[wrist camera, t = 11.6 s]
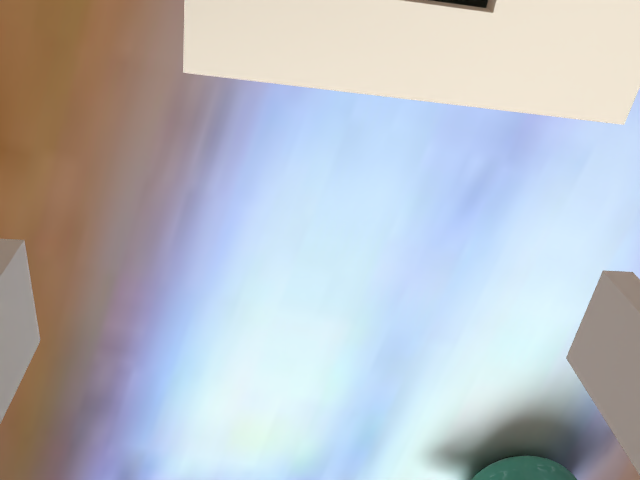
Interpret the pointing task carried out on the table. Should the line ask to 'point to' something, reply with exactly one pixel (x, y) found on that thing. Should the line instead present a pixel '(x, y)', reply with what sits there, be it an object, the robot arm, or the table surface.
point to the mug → (524, 470)
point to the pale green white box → (431, 50)
